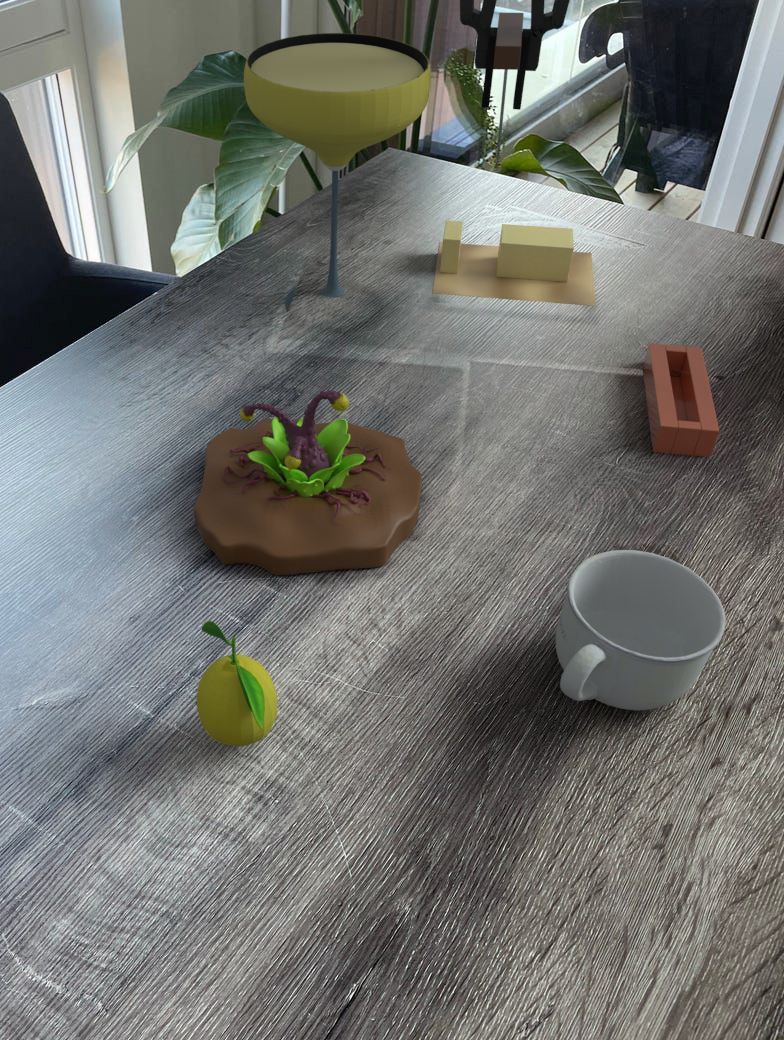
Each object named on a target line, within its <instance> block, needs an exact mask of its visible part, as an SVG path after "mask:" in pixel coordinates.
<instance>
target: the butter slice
mask: <svg viewBox="0 0 784 1040" xmlns="http://www.w3.org/2000/svg"><path fill="white" fill-rule="evenodd" d="M463 225H464V221H462V220H451V219H449V220H448V219H446V220H445V224H444V231H443V236H442V237H443V238H442V242H443V246H442V256H441V265H440V273H454V274H457V271H458V263H459V254H460V246H461V244H462V235H463V227H464V226H463Z"/></svg>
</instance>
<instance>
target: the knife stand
mask: <svg viewBox="0 0 784 1040" xmlns="http://www.w3.org/2000/svg"><path fill="white" fill-rule="evenodd" d="M643 367H644V368H641V369H642V377H643V384H644V393H645V399H646V400H645V401H646V407H647V414H648V423H649V430H650V431H649V432H650V437H651V446H652V452H653V453H664V454H672V455H673V454H674V455H683V456H693V457H694V456H695V457H706V458H711V456H712V454H713V451H714V449H715V447H716V446H715V445H716V442H717V440H718V437H719V434H720V427H719V423H718V418H717V414H716V409H715V408H716V407H715V404H714V399H713V395H712V390H711V385H710V380H709V375H708V372H707V371H708V370H707V366H706V361H705V357H704V352H703V348H702V347H699V346H687V345H675V344H663V343H651V342H650V343H648V345H647V349H646V352H645V356H644V360H643Z"/></svg>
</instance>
